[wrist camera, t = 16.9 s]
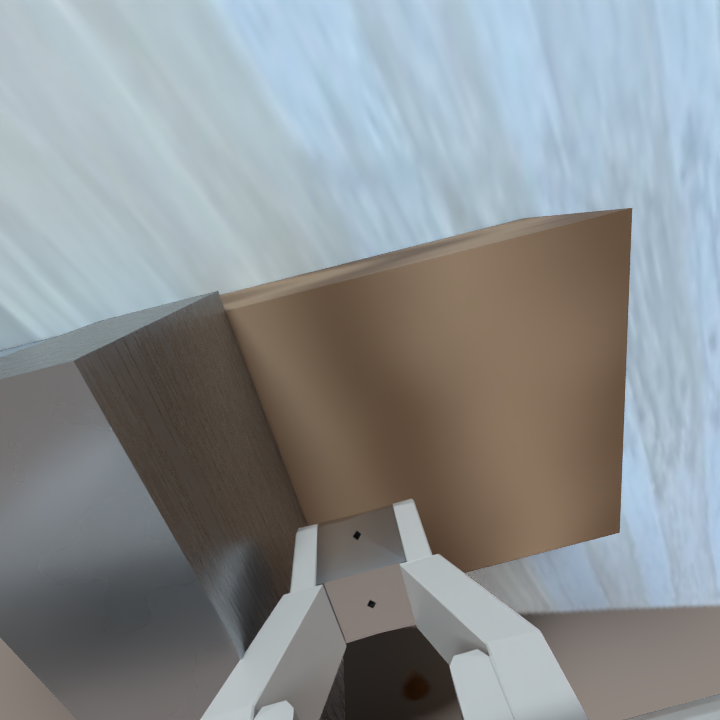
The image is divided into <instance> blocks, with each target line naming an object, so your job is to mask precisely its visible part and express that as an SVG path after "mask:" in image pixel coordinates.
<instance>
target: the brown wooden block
mask: <svg viewBox="0 0 720 720" xmlns="http://www.w3.org/2000/svg"><path fill="white" fill-rule="evenodd" d="M631 223H632V208H627V209H617V210H606V211H596V212H585V213H575V214H564V215H554V216H543V217H533V218H524V219H520V220H516V221H512V222H508V223H504V224H500V225H496V226H492V227H488V228H484V229H480V230H476V231H472V232H468V233H464V234H461V235H457V236H453V237H449V238H445V239H441V240H437V241H433V242H429V243H425V244H421V245H417V246H413V247H409V248H405V249H401V250H397V251H393V252H389V253H385V254H381V255H377V256H373V257H370V258H366V259H362V260H358V261H354V262H350V263H346V264H342V265H338V266H334V267H330V268H326V269H322V270H318V271H314V272H310V273H306V274H302V275H298V276H294V277H290V278H286V279H282V280H279V281H275V282H271V283H267V284H263V285H259V286H255V287H251V288H247V289H243V290H239V291H235V292H231V293H227V294H223V295H220V298H221V300H222V303H223V305H224V308H225V311H226V313H227V316H228V318H229V321H230V324H231V326H232V329H233V332H234V334H235V337H236V339H237V342H238V345H239V347H240V350H241V352H242V355H243V358H244V360H245V363H246V366H247V368H248V371H249V373H250V376H251V379H252V381H253V384H254V386H255V389H256V392H257V394H258V397H259V400H260V402H261V405H262V407H263V410H264V413H265V415H266V418H267V420H268V423H269V426H270V428H271V431H272V433H273V436H274V439H275V441H276V444H277V447H278V449H279V452H280V454H281V457H282V460H283V462H284V465H285V467H286V470H287V473H288V475H289V478H290V481H291V483H292V486H293V488H294V491H295V494H296V496H297V499H298V501H299V504H300V507H301V509H302V512H303V515H304V517H305V520H306V522H307V525H308V526H310V525H315V524H319V523H321V522H325V521H329V520H334V519H338V518H342V517H346V516H351V515H354V514H358V513H362V512H365V511H369V510H373V509H376V508H380V507H384V506H387V505H391V504H392V506H393V504H394V503H397V502H401V501H405V500H408V499H413V500H414V502H415V505H416V508H417V511H418V514H419V517H420V520H421V523H422V526H423V529H424V532H425V535H426V538H427V541H428V544H429V547H430V549H431V552H432V555H436V554H440V555H441V556H443V557H444V558H445V559H447V560H448V561H449V562H451V563H452V564H453V565H454V566H456V567H457V568H458V569H460V570H461V571H462V572H464V573H466V572H469V571H473V570H477V569H481V568H485V567H489V566H493V565H496V564H500V563H504V562H508V561H512V560H516V559H520V558H523V557H527V556H531V555H535V554H539V553H543V552H547V551H550V550H554V549H558V548H562V547H566V546H570V545H573V544H577V543H581V542H585V541H589V540H593V539H597V538H600V537H604V536H608V535H612V534H616V533H620V508H621V482H622V456H623V431H624V405H625V379H626V353H627V327H628V301H629V275H630V249H631ZM393 510H394V509H393Z"/></svg>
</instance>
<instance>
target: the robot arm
mask: <svg viewBox="0 0 720 720" xmlns="http://www.w3.org/2000/svg"><path fill="white" fill-rule="evenodd" d="M393 509H394V510H393ZM412 625H416V626H417V628H418V629H419V630H420V631H421V632H422V634H423V635H424V636H425V637H426V638H427V639H428V641H430V643H431V644H432V645H433V647H434V648H435V649H436V650H437V651H438V652H439V654H440V655H441V656H442V657H443V658H444V659H445V661H446V662H447V663H448V664H449V665H450V671H451V675H452V679H453V684H454V688H455V692H456V696H457V701H458V705H459V709H460V714H461V718H462V720H589V719H588V717H587V715H586V713H585V712H584V710H583V708H582V706H581V704H580V702H579V701H578V699H577V697H576V695H575V693H574V691H573V690H572V688H571V686H570V684H569V682H568V680H567V679H566V677H565V675H564V673H563V671H562V670H561V668H560V666H559V664H558V662H557V660H556V659H555V657H554V655H553V653H552V651H551V649H550V648H549V646H548V644H547V642H546V640H545V639H544V637H543V635H542V634H541V631H540V630H539V629H537V628H536V627H535V626H533V625H532V624H531V623H529V622H528V621H527V620H525V619H524V618H523V617H521V616H520V615H519V614H518V613H516V612H515V611H514V610H512V609H511V608H510V607H508V606H507V605H506V604H504V603H503V602H502V601H501V600H499V599H498V598H497V597H495V596H494V595H493V594H491V593H490V592H489V591H487V590H486V589H485V588H483V587H482V586H481V585H479V584H478V583H477V582H476V581H474V580H473V579H472V578H470V577H469V576H468V575H466V574H465V573H464V572H462V571H461V570H460V569H458V568H457V567H456V566H454V565H453V564H452V563H451V562H449V561H448V560H447V559H445V558H444V557H443V556H441V555H440V554H436V555H432V552H431V549H430V547H429V544H428V541H427V538H426V535H425V532H424V529H423V526H422V523H421V520H420V517H419V514H418V511H417V508H416V505H415V502H414V500H413V499H408V500H405V501H401V502H397V503H394V504H393V506H392V504H391V505H387V506H384V507H380V508H376V509H373V510H369V511H365V512H362V513H358V514H354V515H351V516H346V517H342V518H338V519H334V520H329V521H325V522H321V523H319V524H315V525H310V526H306V527H302V528H299V529H298V531H297V533H296V540H295V549H294V559H293V569H292V579H291V588H290V593H288V594H284V595H283V596H282V598H281V599H280V601H279V602H278V604H277V605H276V607H275V608H274V610H273V611H272V613H271V614H270V616H269V617H268V619H267V620H266V622H265V623H264V625H263V626H262V628H261V629H260V631H259V632H258V634H257V635H256V637H255V638H254V640H253V641H252V643H251V644H250V646H249V647H248V649H247V650H246V652H245V654H244V658H243V659H241V660H240V661H239V662H238V664H237V665H236V667H235V668H234V670H233V671H232V673H231V674H230V676H229V677H228V679H227V680H226V682H225V683H224V685H223V686H222V688H221V689H220V691H219V692H218V694H217V695H216V697H215V698H214V700H213V701H212V703H211V704H210V706H209V707H208V709H207V710H206V712H205V713H204V715H203V716H202V718H201V719H200V720H319V719H320V717H321V714H322V711H323V708H324V706H325V703H326V700H327V698H328V695H329V692H330V690H331V687H332V684H333V681H334V679H335V676H336V673H337V671H338V668H339V665H340V663H341V660H342V657H343V654H344V652H345V649H346V643H348V642H352V641H355V640H358V639H362V638H365V637H368V636H372V635H375V634H378V633H382V632H386V631H391V630H395V629H399V628H403V627H408V626H412ZM625 720H720V694H718V695H714V696H711V697H707V698H703V699H699V700H696V701H692V702H688V703H685V704H681V705H677V706H673V707H670V708H666V709H662V710H659V711H655V712H651V713H647V714H644V715H640V716H636V717H632V718H629V719H625Z"/></svg>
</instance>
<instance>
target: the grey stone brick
mask: <svg viewBox="0 0 720 720" xmlns="http://www.w3.org/2000/svg"><path fill="white" fill-rule="evenodd" d="M306 526H308V525H307V522H306V520H305V517H304V515H303V512H302V509H301V507H300V504H299V501H298V499H297V496H296V494H295V491H294V488H293V486H292V483H291V481H290V478H289V475H288V473H287V470H286V467H285V465H284V462H283V460H282V457H281V454H280V452H279V449H278V447H277V444H276V441H275V439H274V436H273V433H272V431H271V428H270V426H269V423H268V420H267V418H266V415H265V413H264V410H263V407H262V405H261V402H260V400H259V397H258V394H257V392H256V389H255V386H254V384H253V381H252V379H251V376H250V373H249V371H248V368H247V366H246V363H245V360H244V358H243V355H242V352H241V350H240V347H239V345H238V342H237V339H236V337H235V334H234V332H233V329H232V326H231V324H230V321H229V318H228V316H227V313H226V311H225V308H224V305H223V303H222V300H221V298H220V295H219V292H218V291H215V292H211V293H208V294H204V295H200V296H196V297H192V298H188V299H184V300H180V301H176V302H172V303H168V304H164V305H161V306H157V307H153V308H149V309H145V310H141V311H137V312H133V313H129V314H125V315H121V316H117V317H114V318H110V319H106V320H102V321H98V322H95V323H93V324H90V325H87V326H85V327H82V328H79V329H76V330H74V331H71V332H68V333H65V334H63V335H60V336H57V337H55V338H52V339H49V340H46V341H44V342H41V343H38V344H36V345H33V346H30V347H27V348H25V349H22V350H19V351H16V352H14V353H11V354H8V355H6V356H3V357H0V637H1V639H2V640H3V641H4V642H5V643H6V644H7V645H8V646H9V647H10V648H11V649H12V650H13V651H14V653H15V654H16V655H17V656H18V657H19V658H20V659H21V660H22V661H23V662H24V663H25V664H26V665H27V666H28V668H29V669H30V670H31V671H32V672H33V673H34V674H35V675H36V676H37V677H38V678H39V679H40V680H41V681H42V683H43V684H44V685H45V686H46V687H47V688H48V689H49V690H50V691H51V692H52V693H53V694H54V695H55V697H57V699H58V700H59V701H60V702H61V703H62V704H63V705H64V706H65V707H66V708H67V709H68V710H69V712H70V713H71V714H72V715H73V716H74V717H75V718H76V719H77V720H200V719H201V718H202V716H203V715H204V713H205V712H206V710H207V709H208V707H209V706H210V704H211V703H212V701H213V700H214V698H215V697H216V695H217V694H218V692H219V691H220V689H221V688H222V686H223V685H224V683H225V682H226V680H227V679H228V677H229V676H230V674H231V673H232V671H233V670H234V668H235V667H236V665H237V664H238V662H239V661H240V660H241V659H243V658H244V654H245V652H246V650H247V649H248V647H249V646H250V644H251V643H252V641H253V640H254V638H255V637H256V635H257V634H258V632H259V631H260V629H261V628H262V626H263V625H264V623H265V622H266V620H267V619H268V617H269V616H270V614H271V613H272V611H273V610H274V608H275V607H276V605H277V604H278V602H279V601H280V599H281V598H282V596H283V595H284V594H288V593H290V588H291V579H292V569H293V559H294V549H295V540H296V533H297V531H298V529H299V528H302V527H306ZM319 720H345V710H344V672H343V657H342V660H341V663H340V665H339V668H338V671H337V673H336V676H335V679H334V681H333V684H332V687H331V690H330V692H329V695H328V698H327V700H326V703H325V706H324V708H323V711H322V714H321V717H320V719H319Z"/></svg>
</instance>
